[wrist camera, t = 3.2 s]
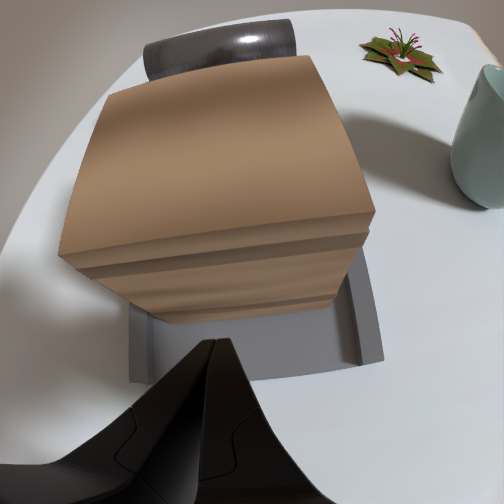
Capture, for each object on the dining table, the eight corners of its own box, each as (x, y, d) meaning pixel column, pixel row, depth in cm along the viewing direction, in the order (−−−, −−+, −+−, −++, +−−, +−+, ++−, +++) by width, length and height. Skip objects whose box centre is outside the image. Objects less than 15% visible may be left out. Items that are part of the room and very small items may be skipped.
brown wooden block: (330, 307, 16) (379, 210, 7) (170, 324, 17) (55, 255, 8) (307, 189, 19) (311, 55, 10) (172, 208, 20) (106, 95, 11)
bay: (375, 362, 15) (452, 341, 7) (143, 382, 16) (41, 372, 8) (305, 93, 25) (303, 12, 17) (163, 116, 26) (132, 42, 18)
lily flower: (441, 60, 29) (448, 35, 24) (444, 98, 25) (455, 67, 21) (365, 34, 32) (367, 9, 28) (348, 64, 28) (351, 32, 24)
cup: (437, 202, 19) (494, 104, 10) (438, 138, 22) (472, 51, 13) (510, 236, 17) (579, 163, 8) (503, 169, 20) (548, 96, 11)
